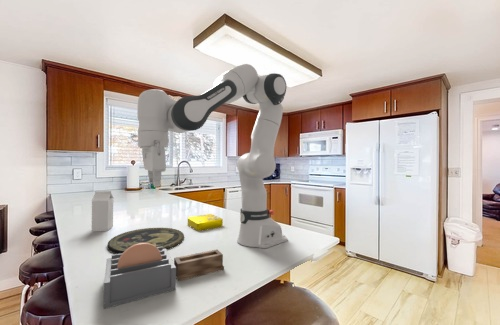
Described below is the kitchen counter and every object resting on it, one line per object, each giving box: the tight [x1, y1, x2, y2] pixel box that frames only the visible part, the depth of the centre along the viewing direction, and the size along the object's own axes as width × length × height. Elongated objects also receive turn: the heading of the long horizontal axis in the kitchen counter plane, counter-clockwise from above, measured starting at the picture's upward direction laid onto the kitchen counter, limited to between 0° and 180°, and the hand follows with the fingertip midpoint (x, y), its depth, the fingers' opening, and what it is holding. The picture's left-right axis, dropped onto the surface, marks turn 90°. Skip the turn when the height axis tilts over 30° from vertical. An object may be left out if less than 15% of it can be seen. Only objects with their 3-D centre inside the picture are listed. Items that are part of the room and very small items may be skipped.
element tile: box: [187, 213, 224, 232], centre depth 122 cm, size 15×15×5 cm
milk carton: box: [91, 190, 114, 232], centre depth 112 cm, size 7×7×19 cm
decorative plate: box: [106, 227, 185, 255], centre depth 97 cm, size 30×2×30 cm
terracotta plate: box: [117, 243, 162, 269], centre depth 62 cm, size 11×1×11 cm, turn 121°
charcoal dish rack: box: [103, 247, 177, 309], centre depth 63 cm, size 16×15×7 cm
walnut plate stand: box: [173, 249, 225, 282], centre depth 72 cm, size 14×7×4 cm, turn 120°
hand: (154, 185), depth 71 cm, fingers open, 8 cm apart
